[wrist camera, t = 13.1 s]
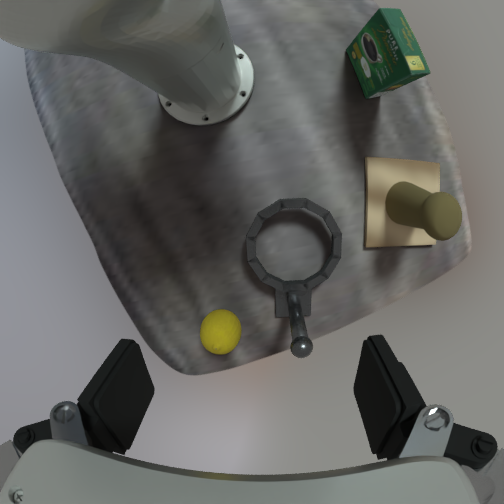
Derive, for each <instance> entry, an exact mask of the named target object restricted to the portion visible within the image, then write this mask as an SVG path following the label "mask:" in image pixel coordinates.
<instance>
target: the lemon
mask: <svg viewBox="0 0 504 504" xmlns="http://www.w3.org/2000/svg"><path fill="white" fill-rule="evenodd" d="M240 337H241V324H240V321H239V319H238V318H237V316H236V315H235V314H233V313H232V312H230V311H228V310H224V309H218V310H214V311H212V312H211V313H209V314H208V315H207V316H206V317H205V318H204V320H203V322H202V324H201V328H200V338H201V342H202V344H203V346H204V347H205V348H206V349H207V350H208V351H210V352H212V353H214V354H226V353H229V352H230V351H232V350H233V349H234V348H235V347H236V346H237V344H238V342H239V340H240Z"/></svg>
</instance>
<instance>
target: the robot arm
mask: <svg viewBox="0 0 504 504" xmlns="http://www.w3.org/2000/svg"><path fill="white" fill-rule="evenodd" d="M0 38H1V39H3V40H5V41H6V42H8V43H10V44H13V45H15V46H18V47H21V48H25V49H29V50H34V51H39V52H46V53H54V54H64V55H74V56H83V57H88V58H92V59H95V60H98V61H101V62H104V63H106V64H108V65H110V66H112V67H114V68H116V69H118V70H120V71H122V72H123V73H125V74H127V75H129V76H130V77H132V78H134V79H135V80H137V81H139V82H140V83H142V84H144V85H146V86H147V87H149V88H150V89H152V90H154V91H155V92H157V93H158V96H159V99H160V102H161V104H162V105H163V107H164V109H165V110H166V111H167V112H168V113H169V114H170V115H171V116H173V117H174V118H176V119H177V120H179V121H181V122H184V123H187V124H191V125H199V126H202V125H211V124H215V123H219V122H222V121H224V120H226V119H228V118H230V117H231V116H233V115H234V114H236V113H237V112H238V111H239V110H240V109H241V108H242V107H243V106H244V105H245V104H246V102H247V101H248V99H249V97H250V95H251V93H252V91H253V87H254V78H255V75H254V69H253V66H252V62H251V61H250V59H249V57H248V56H247V54H246V53H245V52H244V51H243V50H242V49H241V48H239V47H238V46H236V45H235V44H234V43H233V40H232V36H231V33H230V30H229V26H228V23H227V20H226V16H225V13H224V10H223V7H222V3H221V1H220V0H0ZM241 57H242V58H243V59H239V58H241ZM242 94H245V97H242ZM170 104H171V106H170V107H169V105H170ZM206 118H209V119H208V121H205V119H206ZM153 395H154V386H153V383H152V380H151V378H150V375H149V372H148V370H147V367H146V364H145V361H144V358H143V355H142V352H141V349H140V346H139V344H137V343H136V342H135V341H134V340H130V339H121V340H120V341H119V343H118V344H117V345H116V346H115V348H114V349H113V350H112V352H111V353H110V354H109V356H108V357H107V359H106V360H105V361H104V363H103V364H102V365H101V367H100V368H99V369H98V371H97V372H96V374H95V375H94V376H93V378H92V379H91V381H90V382H89V384H88V385H87V386H86V388H85V389H84V391H83V392H82V393H81V395H80V396H79V398H78V399H77V400H78V401H79V402H78V403H77V405H76V404H75V403H73V402H71V401H64V402H60V403H58V404H57V405H55V406H54V407H53V408H52V410H51V412H50V419H48V420H44V421H41V422H38V423H34V424H31V425H27V426H24V427H22V428H20V429H18V430H17V431H16V433H15V435H14V438H13V442H12V441H11V440H9V441H7V442H5V443H4V444H2V445H0V504H504V449H501V450H498V449H497V442H496V440H495V438H494V437H493V436H492V435H490V434H488V433H485V432H481V431H478V430H475V429H471V428H468V427H465V426H461V425H458V424H455V423H453V421H454V418H453V415H452V413H451V412H450V410H449V409H447V408H446V407H444V406H442V405H436V404H435V405H430V406H426V404H425V402H424V400H423V399H422V397H421V395H420V393H419V391H418V389H417V388H416V386H415V384H414V382H413V380H412V379H411V377H410V375H409V373H408V371H407V370H406V368H405V366H404V365H403V364H402V363H401V362H398V360H397V358H396V357H395V355H394V353H393V352H392V350H391V348H390V346H389V345H388V343H387V342H386V340H385V338H384V337H383V335H374V336H369V337H368V338H367V340H364V342H363V346H362V351H361V356H360V361H359V365H358V370H357V374H356V379H355V383H354V395H355V398H356V401H357V404H358V407H359V411H360V413H361V417H362V420H363V424H364V427H365V430H366V434H367V437H368V441H369V444H370V448H371V451H372V453H373V454H376V455H377V458H378V460H379V459H383V458H387V461H382V462H376V463H371V464H366V465H361V466H356V467H350V468H343V469H336V470H329V471H321V472H312V473H300V474H282V475H242V474H241V475H240V474H224V473H212V472H203V471H194V470H187V469H181V468H174V467H168V466H163V465H158V464H154V463H149V462H145V461H140V460H136V459H132V458H129V457H125V456H121V455H118V454H114V453H113V452H116V453H119V454H123V455H124V454H125V452H126V450H127V449H130V447H131V445H132V443H133V441H134V438H135V436H136V434H137V431H138V429H139V427H140V424H141V422H142V420H143V418H144V415H145V413H146V411H147V408H148V406H149V404H150V402H151V400H152V397H153Z"/></svg>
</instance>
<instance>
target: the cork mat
mask: <svg viewBox="0 0 504 504" xmlns="http://www.w3.org/2000/svg"><path fill="white" fill-rule="evenodd" d="M365 170H366V215H365V241H364V246H365V247H387V246H411V245H435V244H436V239H433V238H432V237H430V236H429V235H428V234H427V233H426V232H425V230H424V229H419V228H415V227H410V226H405V225H400V224H396V223H395V222H394V221H392V220H391V219H390V217H389V216H388V214H387V211H386V205H385V201H386V196H387V193H388V191H389V189H390V188H391V187H392V186H393V185H394V184H396V183H398V182H402V181H406V182H409V183H412V184H414V185H416V186H418V187H421V188H423V189H425V190H427V191H429V192H431V193H435V192H439V190H440V163H432V162H424V161H415V160H404V159H392V158H378V157H365Z"/></svg>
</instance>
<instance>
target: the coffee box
mask: <svg viewBox="0 0 504 504" xmlns="http://www.w3.org/2000/svg"><path fill="white" fill-rule="evenodd" d="M346 51H347V53H348V56H349V58H350V61H351V63H352V65H353V67H354V70H355V72H356V75H357V77H358V80H359V82H360V85H361V88H362V90H363V93H364V96H365V98H366V99H369V98H374V97H378V96H382V95H385V94H386V93H388V92H391V91H393V90H395V89H397V88H399V87H401V86H403V85H406V84H408V83H410V82H412V81H415V80H417V79H419V78H421V77H424V76H426V75H428V74H430V70H429V68H428V65H427V63H426V60H425V58H424V56H423V53H422V51H421V49H420V47H419V44H418V42H417V40H416V38H415V36H414V34H413V32H412V30H411V28H410V26H409V24H408V22H407V21H406V19H405V17H404V15H403V13H402V12H401V10H400V9H392V8H379V9H378V10H377V12H376V13H375V14H374V15H373V17H372V18H371V19H370V20H369V21H368V23H367V24H366V25H365V26H364V27H363V29H362V30H361V31H360V32H359V34H358V35H357V36H356V38H355V39H354V40H353V42H352V43H351V44H350V45H349V47H348V48H347V49H346Z"/></svg>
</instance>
